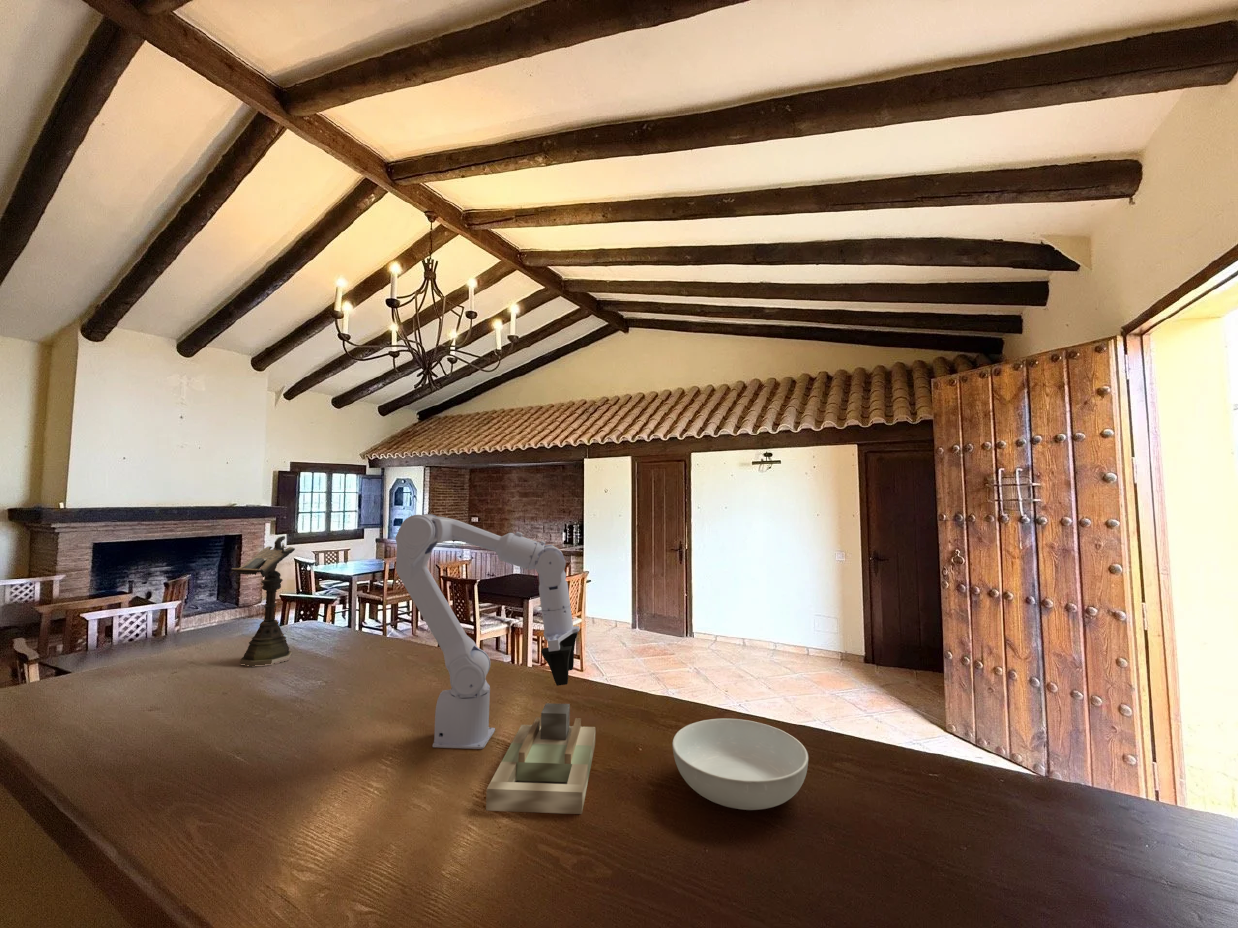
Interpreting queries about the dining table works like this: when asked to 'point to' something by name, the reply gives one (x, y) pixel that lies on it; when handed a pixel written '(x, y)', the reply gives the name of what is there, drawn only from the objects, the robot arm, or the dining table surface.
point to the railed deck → (543, 772)
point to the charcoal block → (555, 721)
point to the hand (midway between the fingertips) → (565, 677)
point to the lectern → (267, 607)
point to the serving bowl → (740, 762)
